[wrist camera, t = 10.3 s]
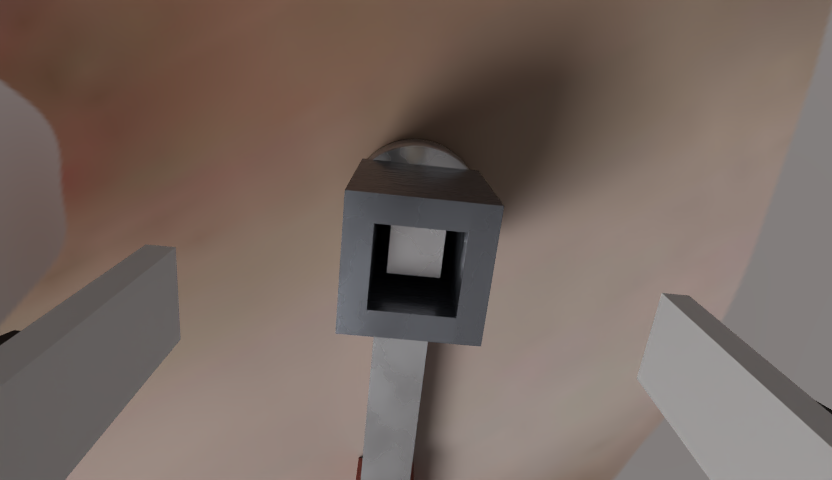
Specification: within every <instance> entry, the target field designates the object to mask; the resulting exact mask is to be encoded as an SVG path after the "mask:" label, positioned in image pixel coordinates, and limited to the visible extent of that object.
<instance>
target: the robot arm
mask: <svg viewBox="0 0 832 480" xmlns="http://www.w3.org/2000/svg"><path fill="white" fill-rule="evenodd" d="M179 340H180V322H179V303H178V284H177V265H176V247H167V246H156V245H144V246H143V247H141V248H140V249H139V250H137V251H136V252H134V253H133V254H131V255H130V256H129V257H127V258H126V259H124V260H123V261H121V262H120V263H118V264H117V265H116V266H114V267H113V268H111V269H110V270H108V271H107V272H105V273H104V274H103V275H101V276H100V277H98V278H97V279H95V280H94V281H92V282H91V283H90V284H88V285H87V286H85V287H84V288H82V289H81V290H79V291H78V292H77V293H75V294H74V295H72V296H71V297H69V298H68V299H66V300H65V301H64V302H62V303H61V304H59V305H58V306H56V307H55V308H54V309H52V310H51V311H49V312H48V313H46V314H45V315H43V316H42V317H41V318H39V319H38V320H36V321H35V322H33V323H32V324H30V325H29V326H28V327H26V328H25V329H23V330H22V331H16V330H13V331H11V332H9V333H6V334H4V335H1V336H0V480H65V479H66V478H67V477H68V475H69V474H70V473H71V472H72V470H73V469H74V468H75V467H76V466H77V464H78V463H79V462H80V461H81V460H82V458H83V457H84V456H85V455H86V453H87V452H88V451H89V450H90V449H91V447H92V446H93V445H94V444H95V443H96V441H97V440H98V439H99V438H100V436H101V435H102V434H103V433H104V432H105V430H106V429H107V428H108V427H109V426H110V424H111V423H112V422H113V421H114V419H115V418H116V417H117V416H118V415H119V413H120V412H121V411H122V410H123V409H124V407H125V406H126V405H127V404H128V402H129V401H130V400H131V399H132V398H133V396H134V395H135V394H136V393H137V391H138V390H139V389H140V388H141V387H142V385H143V384H144V383H145V382H146V381H147V379H148V378H149V377H150V376H151V374H152V373H153V372H154V371H155V370H156V368H157V367H158V366H159V365H160V364H161V362H162V361H163V360H164V359H165V357H166V356H167V355H168V354H169V353H170V351H171V350H172V349H173V348H174V347H175V345H176V344H177V343H178V342H179ZM637 379H638V381H639V382H640V384H641V385H642V386H643V388H644V389H645V390H646V392H647V393H648V395H649V396H650V397H651V399H652V400H653V401H654V403H655V404H656V406H657V407H658V408H659V410H660V411H661V413H662V414H663V415H664V417H665V418H666V419H667V421H668V422H669V423H670V425H671V426H672V428H673V429H674V430H675V432H676V433H677V435H678V436H679V437H680V439H681V440H682V442H683V443H684V444H685V446H686V447H687V449H688V450H689V451H690V453H691V454H692V455H693V457H694V458H695V460H696V461H697V462H698V464H699V465H700V466H701V468H702V469H703V471H704V472H705V473H706V475H707V476H708V478H709V479H710V480H832V410H831V409H829V408H827V407H826V406H824V405H822V404H820V403H819V402H817V401H815V400H814V399H813V398H811V397H810V396H809V395H808V394H807V393H805V392H804V391H803V390H802V389H800V388H799V387H798V386H797V385H796V384H795V383H793V382H792V381H791V380H790V379H789V378H787V377H786V376H785V375H784V374H782V373H781V372H780V371H779V370H778V369H777V368H775V367H774V366H773V365H772V364H770V363H769V362H768V361H767V360H766V359H764V358H763V357H762V356H761V355H760V354H758V353H757V352H756V351H755V350H754V349H752V348H751V347H750V346H749V345H748V344H746V343H745V342H744V341H743V340H741V339H740V338H739V337H738V336H737V335H736V334H734V333H733V332H732V331H730V329H728V328H727V327H726V326H725V325H724V324H722V323H721V322H720V321H719V320H718V319H716V318H715V317H714V316H713V315H712V314H710V313H709V312H708V311H707V310H706V309H704V308H703V307H702V306H701V305H700V304H698V303H697V302H696V301H695V300H694V299H692V298H691V297H690V296H687V295H676V294H666V293H662V295H661V298H660V301H659V305H658V308H657V312H656V315H655V318H654V322H653V325H652V328H651V332H650V335H649V339H648V342H647V345H646V349H645V352H644V356H643V359H642V362H641V366H640V369H639V372H638V376H637Z"/></svg>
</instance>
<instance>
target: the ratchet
mask: <svg viewBox="0 0 832 480" xmlns="http://www.w3.org/2000/svg"><path fill="white" fill-rule="evenodd" d="M368 159H372V160H381V161H391V162H400V163H410V164H419V165H429V166H438V167H448V168H457V169H467V170H469V169H468V167H467V166H466V165H465V163H464V162H463V161H462V160H461V159H460V157H459V156H457V155H456V154H455V153H454V152H453V151H451V150H450V149H448V148H447V147H445V146H443V145H441V144H438V143H436V142H432V141H429V140H423V139H405V140H400V141H396V142H393V143H390V144H388V145H386V146H384V147H382V148H380V149H379V150H377V151H376V152H375V153H373V154H372V155H371V156H370V157H369V158H368ZM446 237H447V231H446V230H436V229H426V228H416V227H406V226H395V225H385V224H380V228H379V239H378V249H381V250H389V253H388V263H387V273H393V274H404V275H414V276H425V277H435V278H440V274H441V266H442V259H443V256H444V253H445V245H446ZM427 344H428V342H426V341H415V340H404V339H393V338H381V337H374V340H373V351H372V362H371V373H370V383H369V394H368V405H367V416H366V427H365V438H364V449H363V458H359V461H358V468H357V476H356V480H413V462H412V461H413V453H414V445H415V437H416V430H417V422H418V414H419V406H420V399H421V391H422V383H423V375H424V368H425V360H426V352H427Z"/></svg>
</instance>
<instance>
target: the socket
mask: <svg viewBox="0 0 832 480" xmlns="http://www.w3.org/2000/svg"><path fill="white" fill-rule="evenodd" d="M503 209H504V205H503V204H502V203H501V201H500V200H499V199H498V197H497V196H496V194H495V193H494V192H493V190H492V189H491V188H490V186H489V185H488V183H487V182H486V181H485V179H484V178H483V177H482V175H481V174H480V173H479V171H477V170H467V169H457V168H448V167H438V166H429V165H419V164H410V163H400V162H391V161H381V160H372V159H362V160H361V162H360V164H359V166H358V168H357V169H356V171H355V173H354V175H353V176H352V178H351V180H350V182H349V184H348V185H347V187H346V189H345V197H344V212H343V227H342V242H341V258H340V273H339V288H338V304H337V319H336V334H348V335H359V336H370V337H381V338H393V339H404V340H415V341H426V342H438V343H449V344H460V345H471V346H481V342H482V336H483V330H484V324H485V318H486V312H487V306H488V300H489V294H490V288H491V282H492V276H493V270H494V264H495V258H496V252H497V246H498V240H499V234H500V228H501V222H502V215H503ZM380 224H385V225H395V226H406V227H416V228H426V229H436V230H446V231H447V237H446V245H445V253H444V256H443V259H442V266H441V274H440V278H435V277H425V276H414V275H404V274H393V273H387V263H388V253H389V250H381V249H378V239H379V228H380Z"/></svg>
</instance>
